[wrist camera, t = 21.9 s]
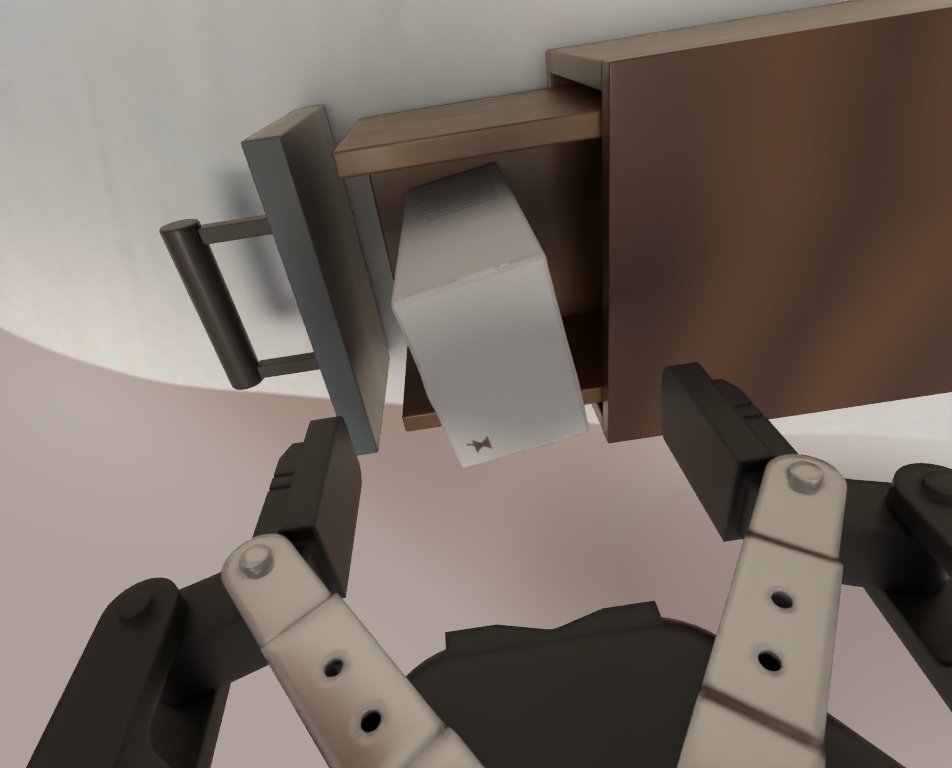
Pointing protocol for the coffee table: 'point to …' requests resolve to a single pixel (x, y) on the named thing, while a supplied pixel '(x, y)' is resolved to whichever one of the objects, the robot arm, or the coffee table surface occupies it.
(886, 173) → the cabinet
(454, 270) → the cosmetic box
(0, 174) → the coffee table surface
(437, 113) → the drawer
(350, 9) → the coffee table surface
